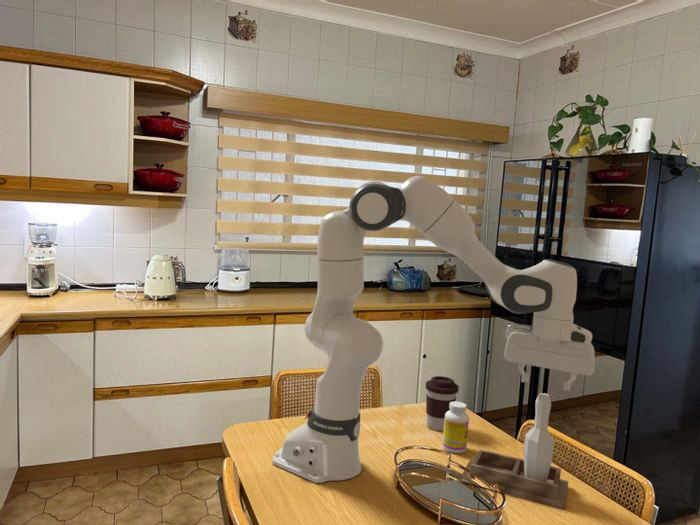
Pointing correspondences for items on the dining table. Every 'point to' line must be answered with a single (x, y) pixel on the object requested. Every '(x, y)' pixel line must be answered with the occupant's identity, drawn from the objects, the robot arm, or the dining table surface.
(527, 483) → the slot rack
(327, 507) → the dining table surface
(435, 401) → the coffee cup
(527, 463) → the low poly bottle
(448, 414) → the supplement bottle
